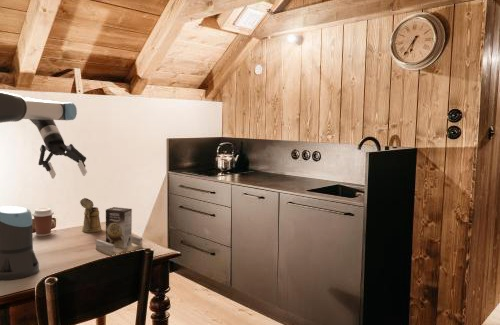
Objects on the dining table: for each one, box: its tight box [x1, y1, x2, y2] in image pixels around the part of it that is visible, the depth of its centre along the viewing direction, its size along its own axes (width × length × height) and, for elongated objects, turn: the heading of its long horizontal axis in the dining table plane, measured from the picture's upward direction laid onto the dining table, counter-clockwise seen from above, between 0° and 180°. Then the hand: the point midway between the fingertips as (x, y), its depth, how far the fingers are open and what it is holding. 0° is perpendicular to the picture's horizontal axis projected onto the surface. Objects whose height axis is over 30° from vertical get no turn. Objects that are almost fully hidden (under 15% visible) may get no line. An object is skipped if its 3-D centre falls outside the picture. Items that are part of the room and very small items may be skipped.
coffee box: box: [105, 206, 133, 249], centre depth 181 cm, size 9×6×16 cm
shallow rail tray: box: [95, 234, 143, 256], centre depth 182 cm, size 15×12×4 cm
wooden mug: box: [79, 197, 102, 234], centre depth 207 cm, size 9×14×18 cm, turn 1°
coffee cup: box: [31, 207, 54, 237], centre depth 201 cm, size 9×9×12 cm
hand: (70, 175), depth 180 cm, fingers open, 13 cm apart
